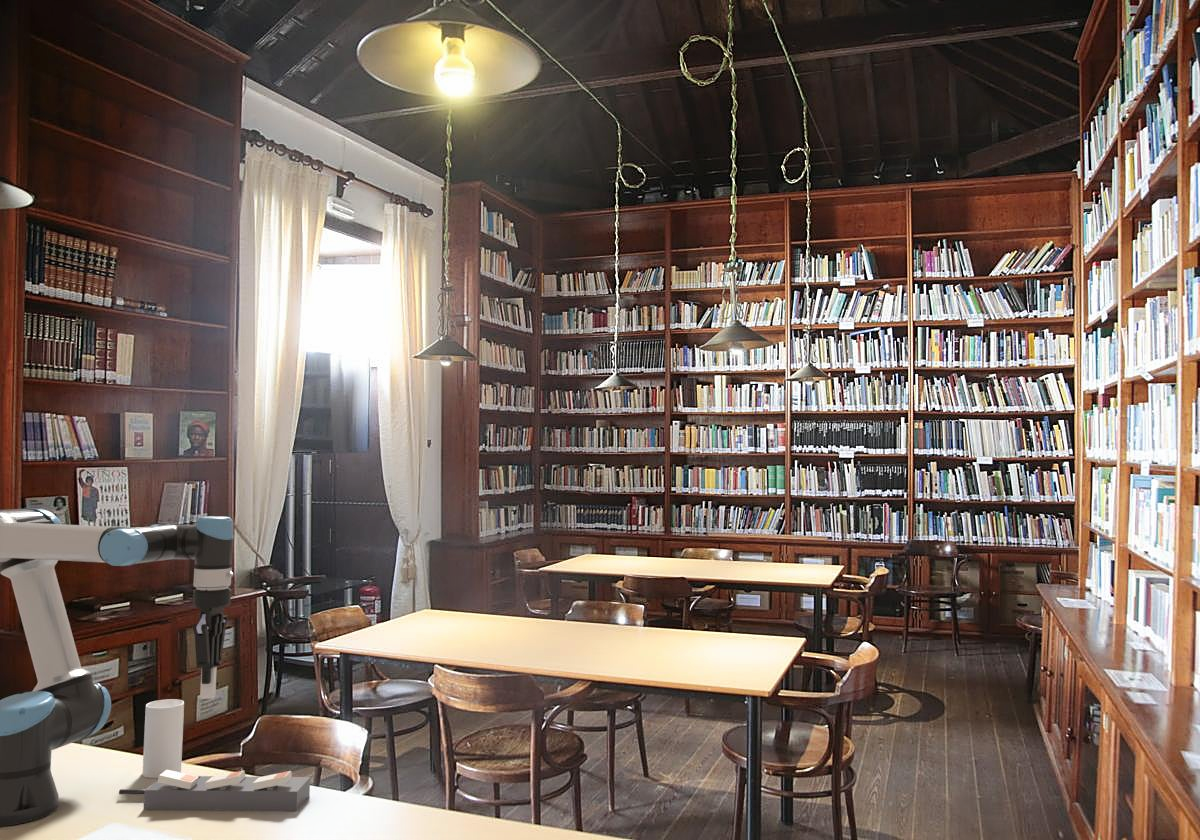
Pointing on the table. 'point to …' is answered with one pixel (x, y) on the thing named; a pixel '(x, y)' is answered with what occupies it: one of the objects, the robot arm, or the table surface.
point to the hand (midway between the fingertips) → (207, 697)
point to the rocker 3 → (272, 780)
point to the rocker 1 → (178, 779)
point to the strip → (226, 796)
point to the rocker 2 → (225, 780)
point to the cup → (163, 737)
